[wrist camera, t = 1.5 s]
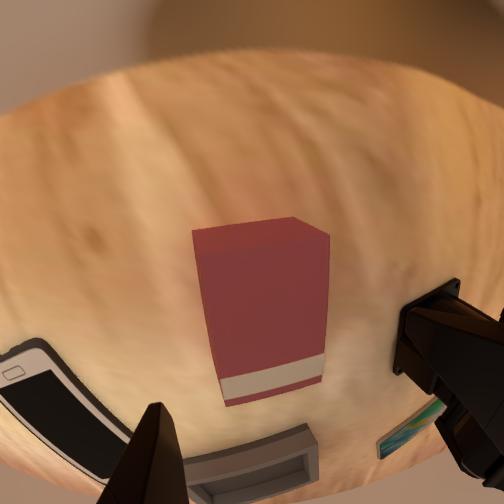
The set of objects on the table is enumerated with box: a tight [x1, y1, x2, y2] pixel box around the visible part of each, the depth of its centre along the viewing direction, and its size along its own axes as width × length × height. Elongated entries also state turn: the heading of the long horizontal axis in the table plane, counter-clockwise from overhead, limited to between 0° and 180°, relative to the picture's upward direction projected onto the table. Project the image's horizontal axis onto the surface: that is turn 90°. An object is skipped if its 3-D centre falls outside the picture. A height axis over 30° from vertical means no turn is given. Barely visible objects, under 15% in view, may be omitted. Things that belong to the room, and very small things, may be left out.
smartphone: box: [376, 396, 447, 460], centre depth 25 cm, size 7×1×15 cm
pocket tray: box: [183, 424, 319, 504], centre depth 17 cm, size 11×8×2 cm
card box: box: [192, 217, 330, 407], centre depth 12 cm, size 7×4×4 cm, turn 5°
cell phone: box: [0, 338, 133, 485], centre depth 13 cm, size 8×15×1 cm, turn 21°
